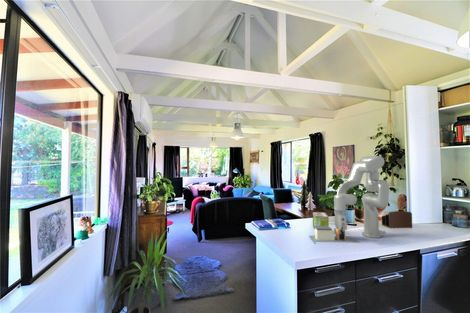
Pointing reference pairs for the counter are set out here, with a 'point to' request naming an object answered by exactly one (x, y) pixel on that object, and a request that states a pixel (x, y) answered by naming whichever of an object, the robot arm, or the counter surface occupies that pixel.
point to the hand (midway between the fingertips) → (340, 238)
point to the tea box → (320, 219)
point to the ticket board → (347, 240)
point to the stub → (338, 233)
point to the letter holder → (397, 219)
